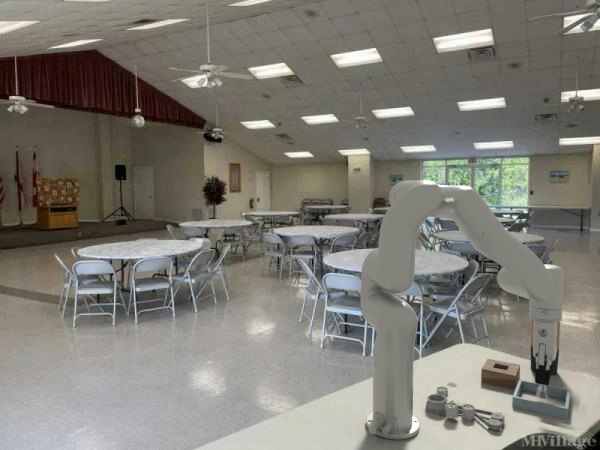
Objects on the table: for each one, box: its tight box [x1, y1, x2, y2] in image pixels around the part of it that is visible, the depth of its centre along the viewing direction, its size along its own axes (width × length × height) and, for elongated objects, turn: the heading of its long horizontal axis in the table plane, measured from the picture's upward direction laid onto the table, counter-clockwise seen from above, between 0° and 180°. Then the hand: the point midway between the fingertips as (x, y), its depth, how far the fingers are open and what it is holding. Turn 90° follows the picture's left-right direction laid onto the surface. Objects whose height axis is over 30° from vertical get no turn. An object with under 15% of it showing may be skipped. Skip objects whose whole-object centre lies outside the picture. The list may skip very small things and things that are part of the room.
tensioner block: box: [480, 358, 521, 391], centre depth 135 cm, size 9×9×5 cm
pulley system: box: [425, 381, 506, 431], centre depth 121 cm, size 27×5×15 cm
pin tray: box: [511, 378, 571, 420], centre depth 121 cm, size 12×12×4 cm
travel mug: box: [530, 319, 561, 377], centre depth 140 cm, size 8×8×20 cm
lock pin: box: [535, 357, 551, 399], centre depth 121 cm, size 4×4×10 cm
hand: (542, 380), depth 121 cm, fingers closed on lock pin, 2 cm apart
